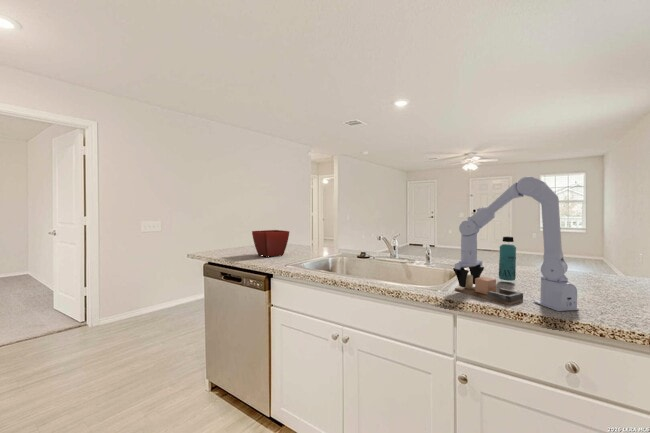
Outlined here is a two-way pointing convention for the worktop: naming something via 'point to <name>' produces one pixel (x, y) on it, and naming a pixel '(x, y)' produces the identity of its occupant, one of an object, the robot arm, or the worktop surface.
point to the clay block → (481, 284)
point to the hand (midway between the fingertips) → (468, 285)
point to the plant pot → (270, 242)
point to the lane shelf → (496, 295)
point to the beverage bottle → (507, 260)
